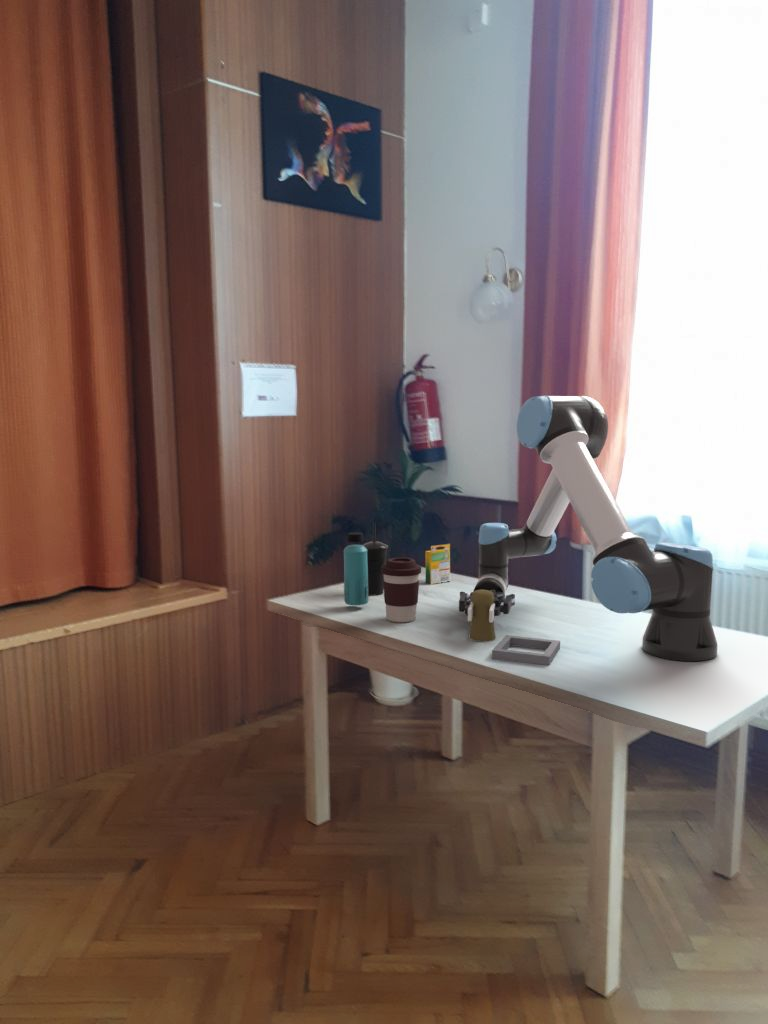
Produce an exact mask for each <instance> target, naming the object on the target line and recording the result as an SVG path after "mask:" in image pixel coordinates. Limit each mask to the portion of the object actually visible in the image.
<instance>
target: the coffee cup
mask: <svg viewBox="0 0 768 1024" xmlns="http://www.w3.org/2000/svg"><path fill="white" fill-rule="evenodd" d="M381 573H382V574H384V580H383V586H384V590H383V597H384V598H383V599H384V603H385V614H386V620H388V621H390V622H391V623H409V622H414V621H415V619H416V618H417V607H418V606H417V604H418V602H419V591H420V590H419V587H420V579H419V575H420V574H421V573H422V566H421V565H420V564H417V562H416V560H415V559H413V558H410V557H391V558H389V559H386V564H384V565H382V566H381Z"/></svg>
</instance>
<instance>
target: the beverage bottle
mask: <svg viewBox="0 0 768 1024" xmlns="http://www.w3.org/2000/svg"><path fill="white" fill-rule="evenodd" d="M363 536H364V535H363V533H362V532H348V533H347V538H346V539H347V540H346V541H347V542H348V543H349V542H350V543H360V542H363V541H364V537H363ZM363 545H364V544H349V545H347V546H346V547H344V549H343V596H344V603H345V604H346V605H349V606H364V605H367V604H368V603H369V598H370V597H369V596H370V595H369V588H368V580H369V579H368V565H367V549H366V548H365V547H364V546H363Z"/></svg>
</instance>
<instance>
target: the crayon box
mask: <svg viewBox="0 0 768 1024" xmlns="http://www.w3.org/2000/svg"><path fill="white" fill-rule="evenodd" d="M437 548H438V549H437ZM439 548H440V549H439ZM441 548H442V549H441ZM424 554H425V556H424V558H425V583H426V584H427V583H428V585H430V584H432V585H436V583H437V584H442V583H441V582H443V583H448V582H447V581H450V582H451V543H446V544H437V545H431V546H430V550H425V553H424Z"/></svg>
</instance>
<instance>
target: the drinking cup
mask: <svg viewBox="0 0 768 1024" xmlns="http://www.w3.org/2000/svg"><path fill="white" fill-rule="evenodd" d="M376 525H377V524H376V523H374V522H373V523H372V539H373V540H371V541H369V542H366V543H363V544H362V545H363V546H364V547H365V548H366V549H367V565H368V579H369V580H368V588H369V596H380V595H384V586H383V580H384V574H382V573H381V566H382V565H384V564H386V563H387V555H388V553H387V552H388V548H389V545H388V544H386V543H383V542H381V541H378V540H377V541H376V539H377V538H376V537H377V535H376V534H377V532H376V529H377V528H376V527H377V526H376Z"/></svg>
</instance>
